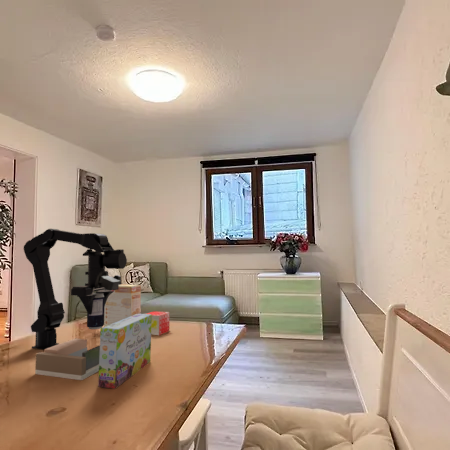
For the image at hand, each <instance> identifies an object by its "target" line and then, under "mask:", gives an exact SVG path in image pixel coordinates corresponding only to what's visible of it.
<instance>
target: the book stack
mask: <svg viewBox="0 0 450 450" xmlns="http://www.w3.org/2000/svg"><path fill="white" fill-rule="evenodd" d="M87 350H88V339H86V338H72V339H70V340H67V341H64V342H60V343H59V344H58V345H55V346H52V347H50V348H47V349H43V351H44V353H53V354H62V355H71V356H80V357H82V353H83V352H85V351H87Z"/></svg>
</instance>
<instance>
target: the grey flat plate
mask: <svg viewBox="0 0 450 450" xmlns="http://www.w3.org/2000/svg"><path fill="white" fill-rule="evenodd" d="M99 356H100V344H99V345H97V346H95V347H93V348H91V349H87V351H85V352H83V353H82V357H86V370H88V369H90V368H92V367H94V366H96V365H98V364H99Z"/></svg>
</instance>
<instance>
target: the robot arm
mask: <svg viewBox="0 0 450 450" xmlns="http://www.w3.org/2000/svg"><path fill="white" fill-rule="evenodd" d="M57 241H59V242H60V241H61V242H66V243H70V244H71V243H72V244H77V245H80V246H82V247H84V248H86V249H87V250H86V251H85V252H83V253H82V257H88V260H87V261H88V262H87V271H85V272H84V273H85V276H86V275H87V282H86V283H84V285H76V286H72V288H71V289H70V296H76V297H77V298H79V299H80V302H81V303H82V305H83V307H84V310H85V311H86V313H88V314H89V315H91V314H92V307H93V299H94V298H95V296H96V295H93V293H94V292H95V293H104V294H103V295H104V297H105V304H106V301H107V298H108V296H109V295H110V294H111V293H113V292H114V291H111V290H118V289H119V285H121V284H122V276H121V275H118V274H117V275H116V274H115V275H114V276H109V272H108V270H110V269H113V270H115V269H116V270H117V269H118V270H119V269H120V270H121V269H123V270H124V268H126V266H127V262H128V258H127V256H126V254H125V250H124V249H114V247H112V245H111V244H110V242H109V238H108V236H107V235H106V234H104V233H93V232H91V233H79V232H74V231H73V232H72V231H68V230H67V231H66V230H61V229H58V228H48V229H46V230H45V231H43V232H42V233H39V234H38V235H36V236H34V237H32V238H31V239H29V240H27V241H26V242H25V243H24V245H23V252H24V255H25V258H26V259H27V260H28V262H29V263H30V264H31V265H32V269H33V274H34V279H35V283H36V289H37V293H38V298H39V306H38V308H37V312H36V313H37V319H36V320H34V322H33V323H32V324H30V330H31V332H32V333H35V343H34V344H35V345H33V346H31V349H35V350H36V349H38V350H44V349H47V348H50V347H52V346H55V345H58V344H60V343H58V342H57V335H58V334H57V328H59V327H61V323H62V321H63V319H64V318H65V314H66V312H65V310H64V303H63V302H58V301H57V300H56V297H55V292H54V288H53V283H52V278H51V274H50V268H49V263H48V261H49V259H50V255H51V249H52V248H53V247H54V246H55V245H56V243H57ZM106 269H108V270H106ZM104 307H105V305H104Z"/></svg>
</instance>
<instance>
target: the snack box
mask: <svg viewBox="0 0 450 450" xmlns="http://www.w3.org/2000/svg"><path fill="white" fill-rule="evenodd" d="M151 322H152V314H147V313H141V314H135V315H133V316H130V317H128V318H125V319H123V320H120V321H118V322H115V323H113V324H110V325H108V326H105V327H104V326H103V327H102V328H100V334H99V335H100V336H99V337H100V338H99V345H100V356H99V371H98V380H97V381H98V385H97V387H99V388H106V389H114V390H115V389H117V388H118V387H120V385H122V384H123V383H125V382H126V381H127V380H129V379H130V378H131V377H133V376H134V375H135V374H137V373H138V372H139V371H141V370H142V369H143V368H144V367H146V366H147V365H149V364H150V363H151V359H152V357H151V351H152V349H151V348H152V347H151V346H152V334H151Z"/></svg>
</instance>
